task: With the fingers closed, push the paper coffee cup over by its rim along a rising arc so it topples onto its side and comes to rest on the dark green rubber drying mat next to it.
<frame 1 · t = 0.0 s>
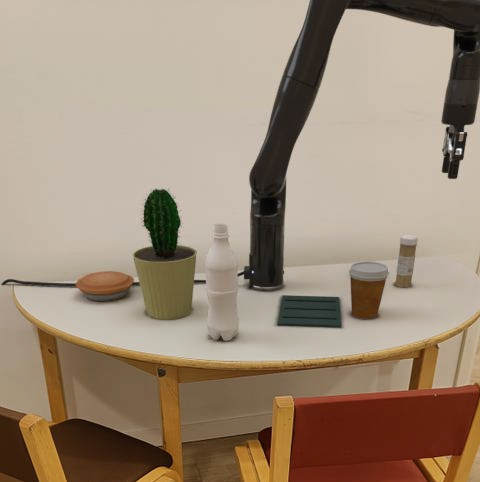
hand: (449, 175, 148), 29 cm above the table, tool pointing down, fingers open, 8 cm apart
water bottle: (223, 337, 138), on the table
sprinkles bottle: (402, 285, 168), on the table
pie: (106, 295, 164), on the table
potted cactus: (169, 311, 152), on the table
drying mat: (309, 311, 151), on the table
disposable coffee cup: (364, 315, 149), on the table
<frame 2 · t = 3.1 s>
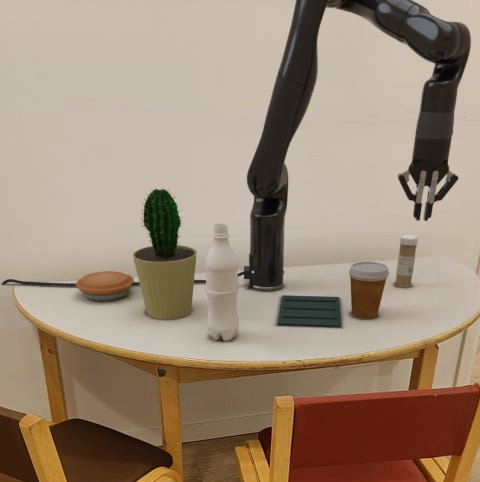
hand: (421, 219, 136), 23 cm above the table, tool pointing down, fingers closed
nothing on the table moved.
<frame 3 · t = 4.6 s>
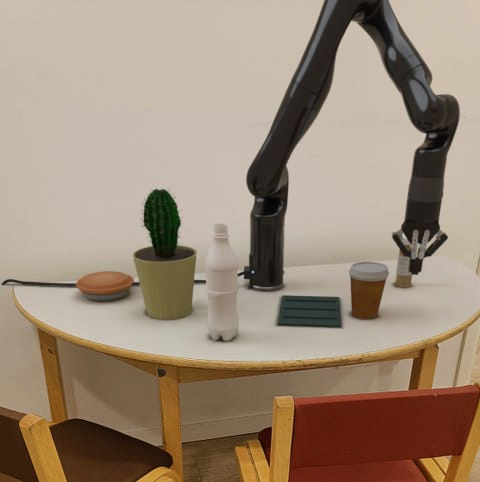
hand: (414, 273, 142), 11 cm above the table, tool pointing down, fingers closed
nothing on the table moved.
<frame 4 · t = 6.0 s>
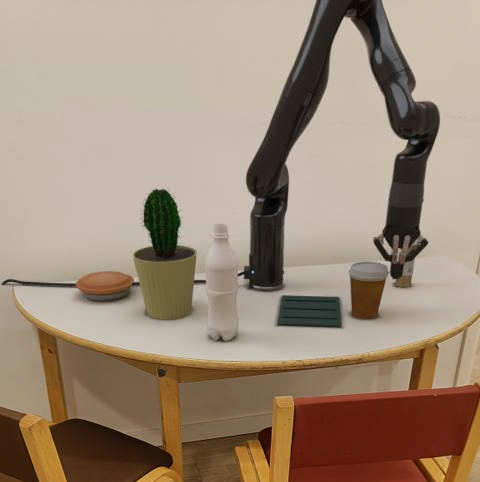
hand: (395, 278, 143), 9 cm above the table, tool pointing down, fingers closed
disposable coffee cup: (364, 315, 149), on the table, touching gripper
everything else where it was.
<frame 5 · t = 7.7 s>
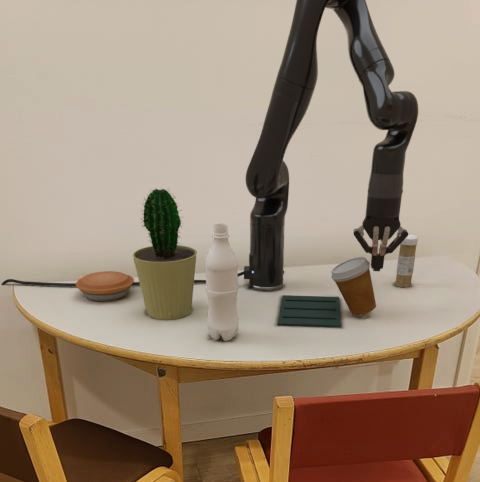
hand: (376, 270, 143), 11 cm above the table, tool pointing down, fingers closed
disposable coffee cup: (364, 310, 148), point 1 cm above the table
everything else where it was.
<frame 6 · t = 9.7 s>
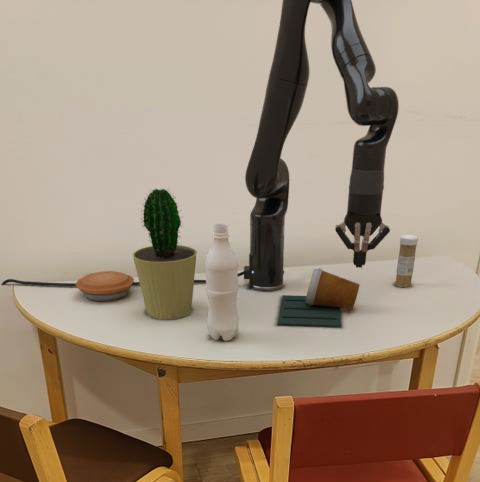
hand: (358, 266, 143), 12 cm above the table, tool pointing down, fingers closed
disposable coffee cup: (357, 297, 150), point 3 cm above the table, touching drying mat
everything else where it was.
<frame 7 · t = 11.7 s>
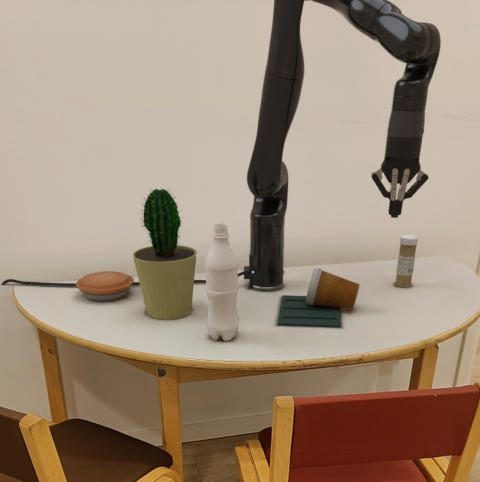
hand: (394, 217, 138), 23 cm above the table, tool pointing down, fingers closed
nothing on the table moved.
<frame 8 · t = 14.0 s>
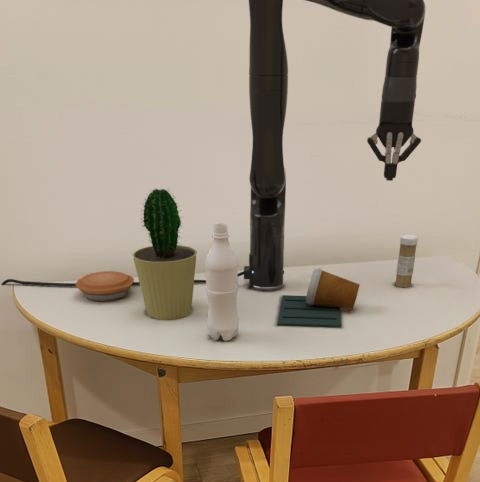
hand: (389, 180, 146), 29 cm above the table, tool pointing down, fingers closed
nothing on the table moved.
at the end: disposable coffee cup tilted 80°; disposable coffee cup touching drying mat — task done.
